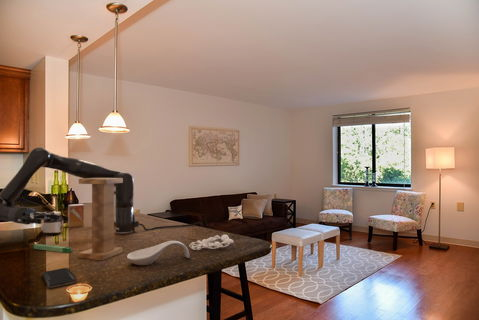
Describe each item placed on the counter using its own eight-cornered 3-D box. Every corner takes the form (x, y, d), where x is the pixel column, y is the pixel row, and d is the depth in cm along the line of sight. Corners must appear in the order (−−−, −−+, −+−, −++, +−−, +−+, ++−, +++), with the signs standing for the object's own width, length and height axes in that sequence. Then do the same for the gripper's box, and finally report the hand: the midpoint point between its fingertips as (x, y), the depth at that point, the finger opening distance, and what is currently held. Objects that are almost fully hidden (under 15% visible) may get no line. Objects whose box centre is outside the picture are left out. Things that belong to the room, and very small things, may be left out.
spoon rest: (128, 270, 116) (128, 250, 116) (125, 261, 126) (125, 242, 126) (192, 261, 126) (192, 242, 126) (184, 253, 136) (184, 236, 136)
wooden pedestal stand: (76, 257, 131) (76, 178, 132) (98, 249, 143) (98, 177, 143) (104, 260, 127) (104, 179, 127) (124, 252, 138) (124, 178, 139)
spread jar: (54, 236, 169) (54, 214, 169) (33, 236, 170) (33, 214, 170) (67, 231, 181) (67, 210, 181) (47, 231, 182) (47, 210, 182)
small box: (69, 227, 192) (69, 205, 192) (68, 225, 197) (68, 204, 197) (84, 226, 196) (84, 204, 196) (82, 224, 201) (82, 203, 202)
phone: (67, 267, 115) (76, 279, 103) (67, 270, 115) (76, 282, 103) (41, 272, 110) (48, 285, 98) (41, 275, 110) (48, 288, 98)
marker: (31, 248, 145) (31, 244, 145) (35, 247, 147) (35, 243, 147) (67, 252, 138) (67, 248, 138) (71, 251, 140) (71, 247, 140)
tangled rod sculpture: (193, 256, 136) (192, 246, 136) (186, 245, 150) (186, 236, 149) (236, 250, 142) (236, 241, 142) (226, 240, 156) (226, 232, 156)
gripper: (6, 210, 142) (35, 214, 137) (35, 204, 155) (62, 208, 150) (6, 226, 142) (34, 231, 137) (35, 219, 156) (62, 224, 151)
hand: (49, 219), depth 144 cm, fingers open, 8 cm apart
